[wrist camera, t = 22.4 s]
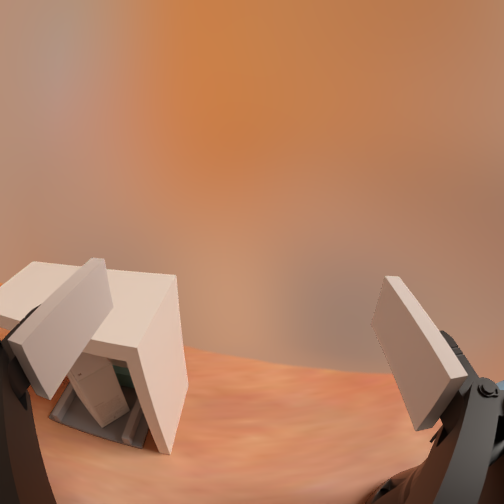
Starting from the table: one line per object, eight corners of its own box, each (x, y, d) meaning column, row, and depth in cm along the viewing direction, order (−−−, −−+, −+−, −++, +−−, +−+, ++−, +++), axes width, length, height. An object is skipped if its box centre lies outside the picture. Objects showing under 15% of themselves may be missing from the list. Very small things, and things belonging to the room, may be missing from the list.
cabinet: (170, 454, 31) (137, 347, 23) (32, 411, 31) (-23, 306, 23) (188, 385, 43) (176, 275, 35) (65, 359, 44) (33, 261, 36)
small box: (131, 411, 36) (112, 362, 32) (102, 429, 32) (76, 382, 28) (104, 382, 40) (86, 332, 36) (77, 396, 36) (54, 347, 32)
